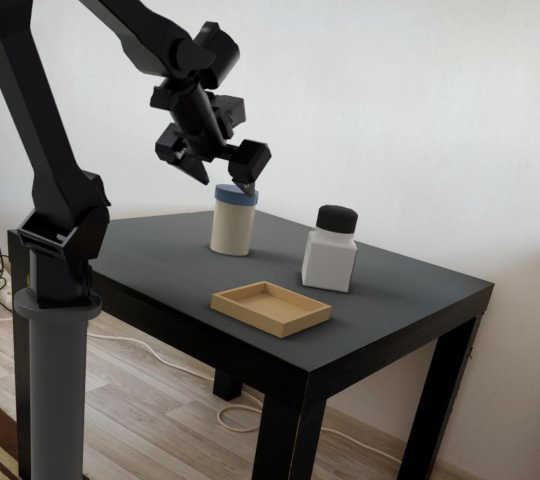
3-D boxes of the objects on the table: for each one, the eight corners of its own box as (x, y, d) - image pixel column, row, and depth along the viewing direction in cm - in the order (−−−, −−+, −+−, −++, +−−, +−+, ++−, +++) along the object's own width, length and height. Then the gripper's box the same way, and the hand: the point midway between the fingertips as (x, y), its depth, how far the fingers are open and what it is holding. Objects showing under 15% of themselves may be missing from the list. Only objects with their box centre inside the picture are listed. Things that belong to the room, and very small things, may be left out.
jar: (222, 256, 97) (230, 194, 93) (203, 244, 102) (209, 185, 98) (256, 255, 101) (265, 196, 97) (236, 244, 106) (243, 187, 102)
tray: (281, 338, 69) (283, 323, 68) (210, 307, 74) (212, 293, 73) (328, 319, 77) (331, 306, 77) (262, 293, 83) (264, 280, 82)
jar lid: (262, 202, 100) (264, 191, 100) (249, 207, 94) (251, 195, 93) (223, 193, 102) (224, 182, 101) (207, 198, 95) (209, 186, 95)
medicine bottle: (348, 293, 89) (365, 215, 84) (302, 286, 89) (317, 207, 84) (343, 279, 96) (359, 206, 91) (301, 273, 96) (315, 199, 91)
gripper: (275, 82, 80) (301, 164, 93) (173, 65, 88) (210, 143, 102) (234, 141, 77) (267, 217, 90) (132, 117, 85) (176, 191, 99)
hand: (229, 189), depth 95 cm, fingers open, 9 cm apart
